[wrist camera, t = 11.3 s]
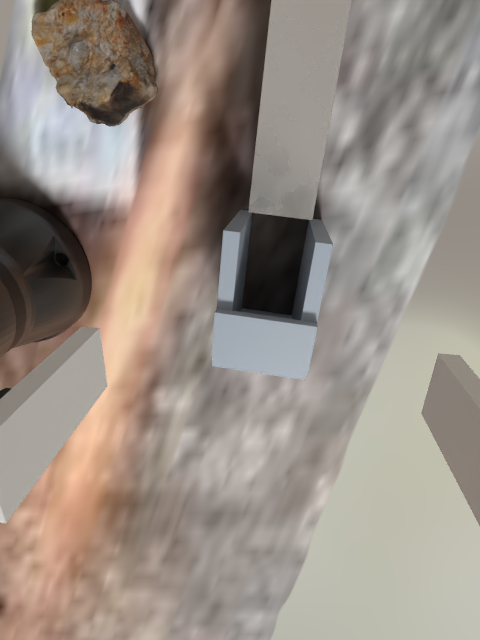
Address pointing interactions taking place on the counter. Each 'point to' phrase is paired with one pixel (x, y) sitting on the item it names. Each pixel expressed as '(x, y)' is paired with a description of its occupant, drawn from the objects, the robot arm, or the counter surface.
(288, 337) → the grey u-shaped block
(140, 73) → the rock
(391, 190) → the counter surface
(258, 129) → the light grey long block
